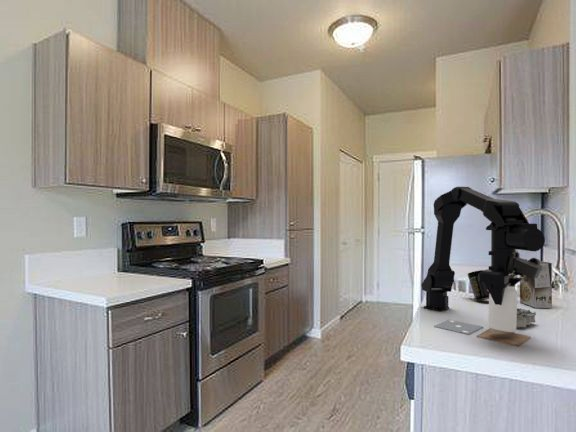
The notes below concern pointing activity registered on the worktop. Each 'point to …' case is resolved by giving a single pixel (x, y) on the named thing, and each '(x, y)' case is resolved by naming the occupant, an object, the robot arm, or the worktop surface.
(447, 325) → the slate mat
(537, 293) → the coffee box
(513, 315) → the can
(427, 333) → the worktop surface
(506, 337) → the walnut mat
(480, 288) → the supplement container
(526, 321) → the egg carton
